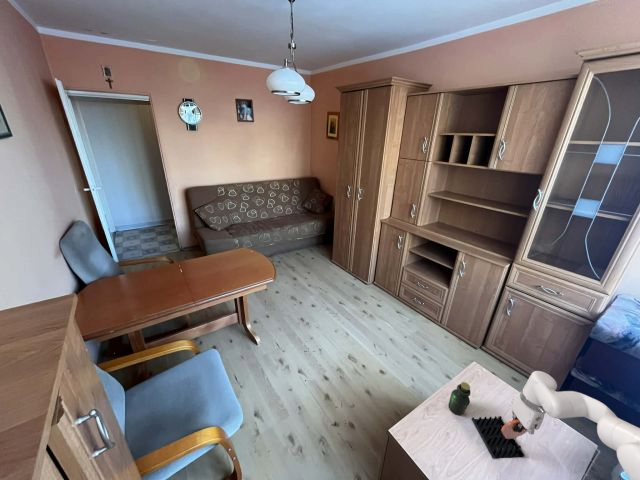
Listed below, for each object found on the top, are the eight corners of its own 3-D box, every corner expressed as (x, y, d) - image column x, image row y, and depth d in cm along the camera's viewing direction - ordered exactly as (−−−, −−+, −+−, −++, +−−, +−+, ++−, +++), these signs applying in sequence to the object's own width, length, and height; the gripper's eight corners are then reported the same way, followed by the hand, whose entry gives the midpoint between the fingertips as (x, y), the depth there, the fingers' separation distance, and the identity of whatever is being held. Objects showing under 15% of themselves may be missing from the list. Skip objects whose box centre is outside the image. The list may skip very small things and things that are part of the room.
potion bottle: (445, 412, 128) (455, 388, 120) (447, 398, 135) (456, 374, 127) (463, 421, 125) (475, 397, 117) (464, 406, 131) (475, 383, 123)
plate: (523, 438, 111) (534, 421, 106) (498, 439, 110) (508, 422, 105) (521, 435, 112) (532, 418, 107) (497, 436, 111) (506, 419, 106)
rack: (523, 458, 112) (528, 451, 110) (492, 459, 111) (496, 452, 109) (498, 419, 127) (502, 412, 124) (470, 419, 126) (474, 413, 123)
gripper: (559, 420, 94) (539, 449, 101) (526, 381, 108) (510, 409, 115) (539, 421, 93) (520, 450, 101) (508, 381, 107) (494, 410, 115)
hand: (515, 428), depth 108 cm, fingers closed on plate, 1 cm apart
